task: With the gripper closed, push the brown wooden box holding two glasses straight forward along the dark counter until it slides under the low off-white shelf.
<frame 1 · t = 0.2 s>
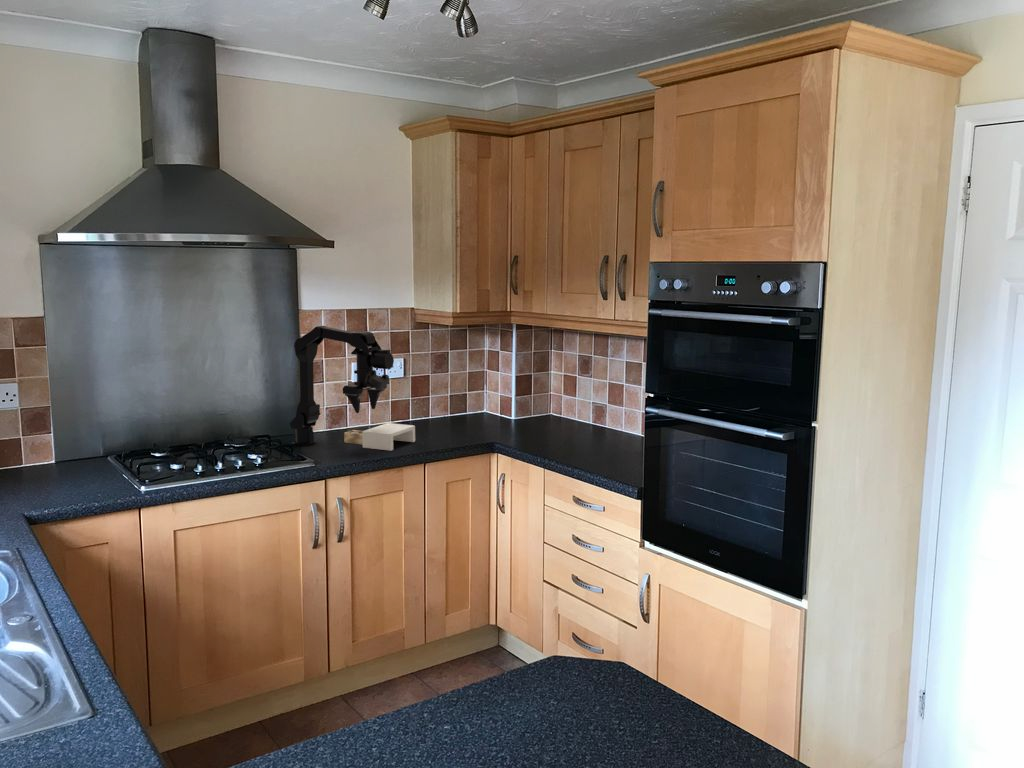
hand: (365, 410, 297), 14 cm above the counter, tool pointing down, fingers open, 9 cm apart
brown wooden box: (359, 442, 311), on the counter
shelf: (389, 444, 308), on the counter
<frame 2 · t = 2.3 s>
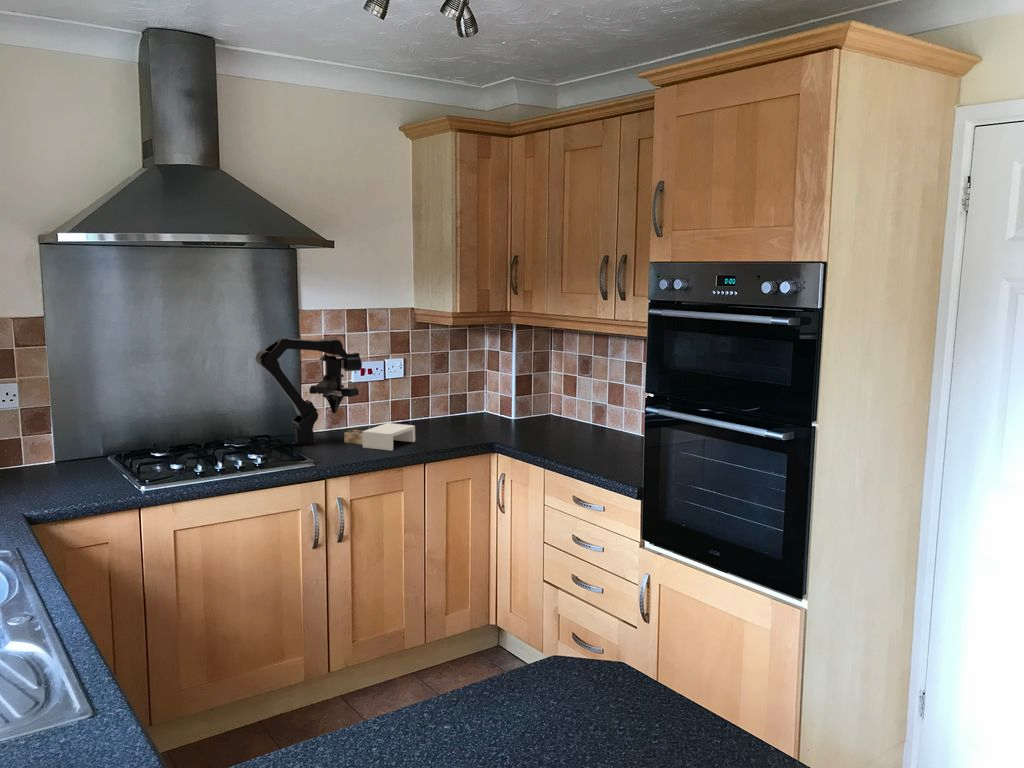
hand: (334, 413, 314), 10 cm above the counter, tool pointing down, fingers closed
nothing on the counter moved.
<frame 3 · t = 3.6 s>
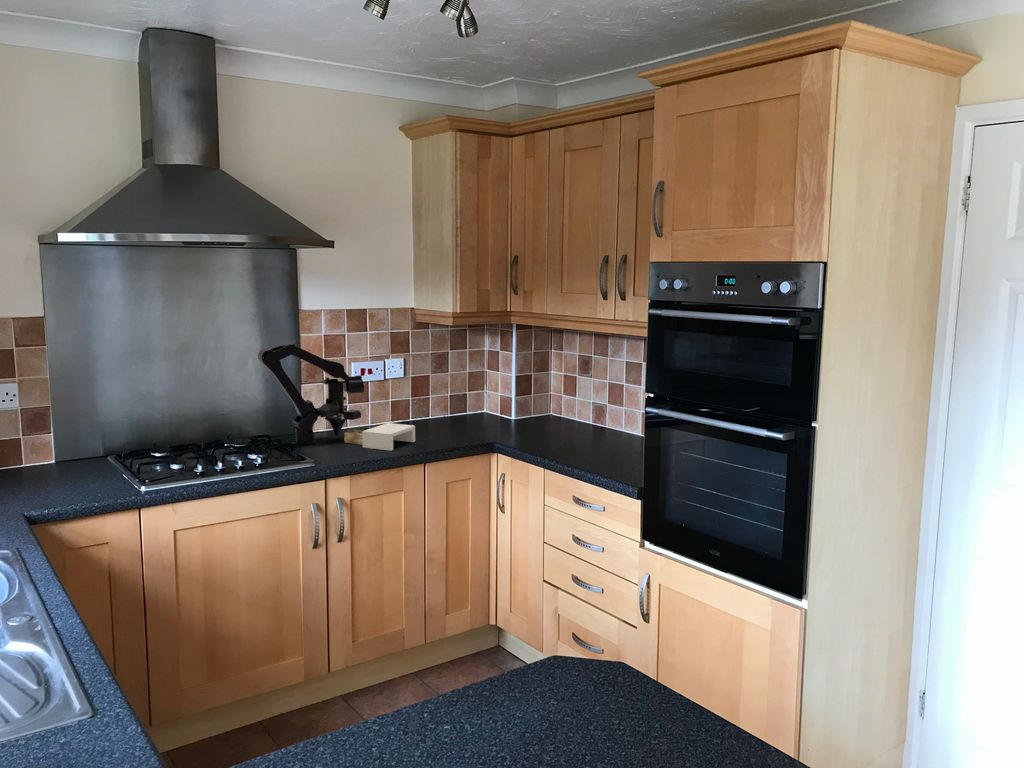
hand: (337, 435, 315), 2 cm above the counter, tool pointing down, fingers closed
nothing on the counter moved.
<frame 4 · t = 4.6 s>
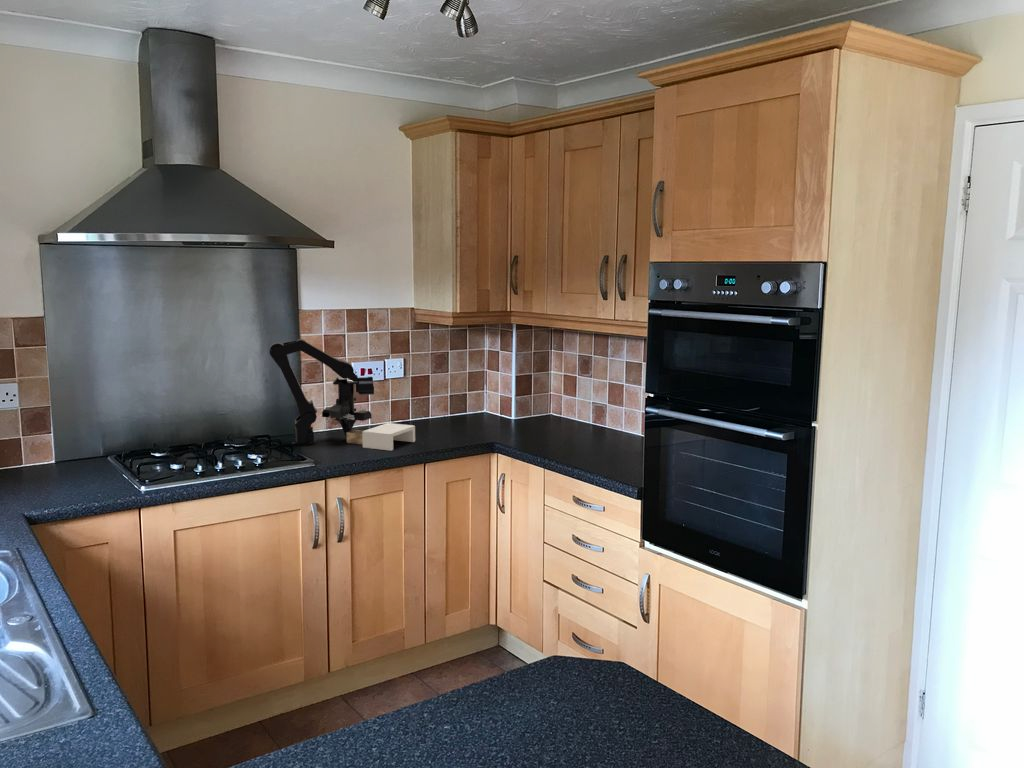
hand: (347, 436, 313), 2 cm above the counter, tool pointing down, fingers closed
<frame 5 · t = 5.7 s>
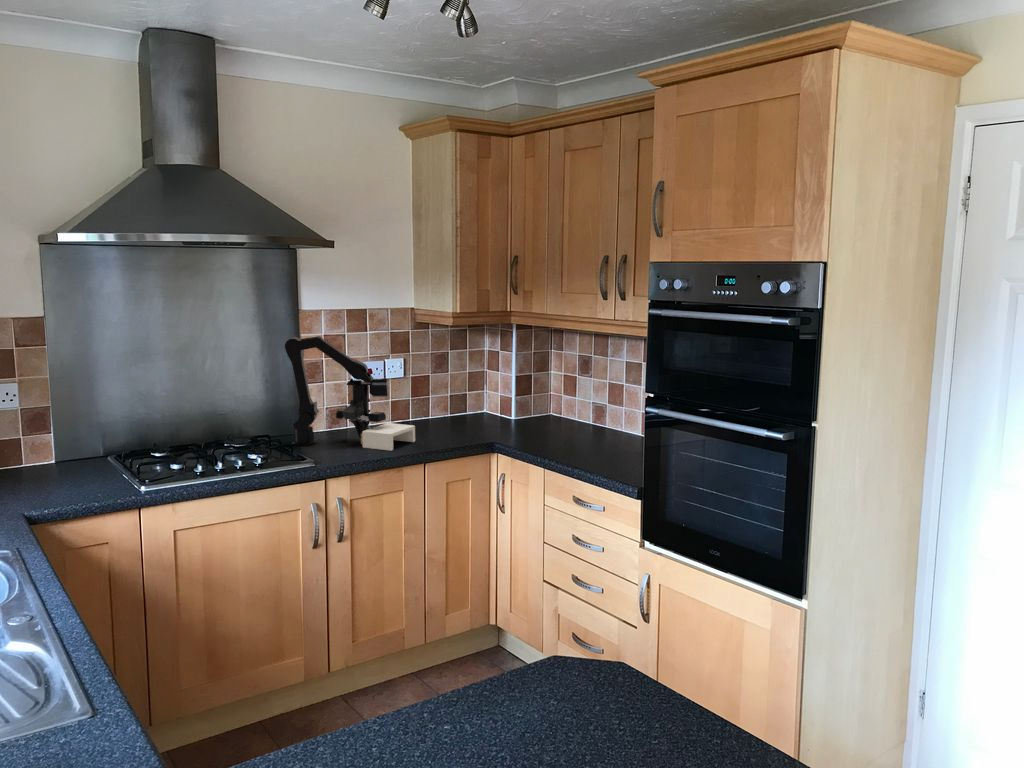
hand: (361, 438, 311), 2 cm above the counter, tool pointing down, fingers closed
brown wooden box: (376, 444, 309), on the counter, touching gripper
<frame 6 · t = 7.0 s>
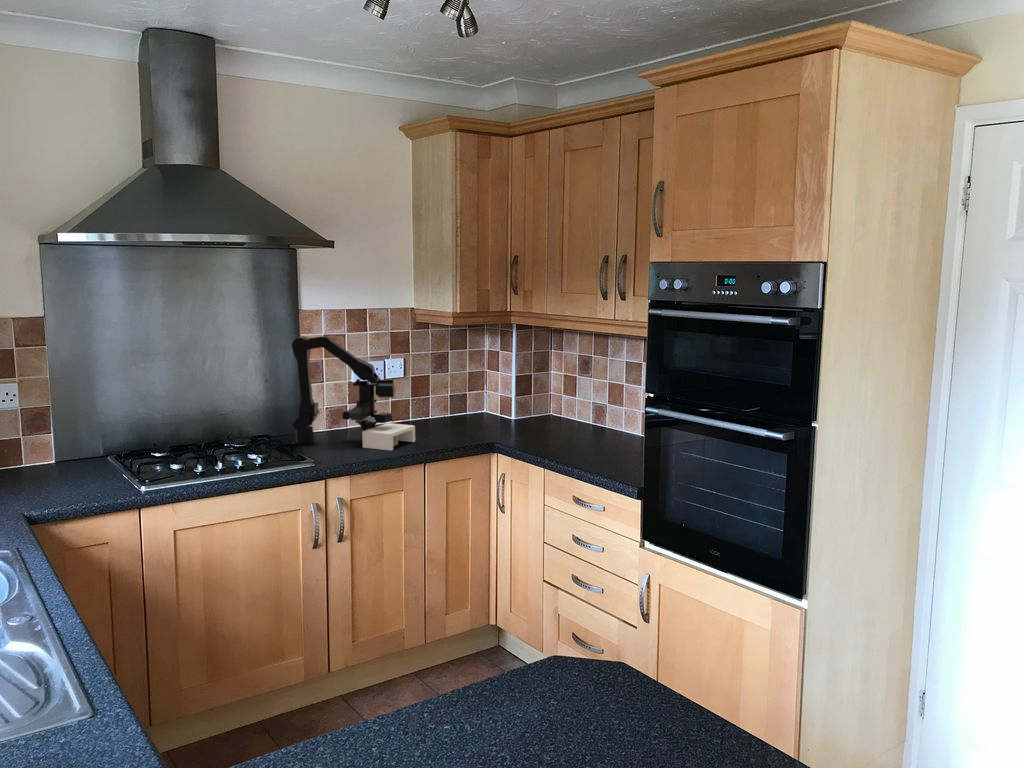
hand: (367, 438, 310), 2 cm above the counter, tool pointing down, fingers closed
brown wooden box: (382, 445, 308), on the counter
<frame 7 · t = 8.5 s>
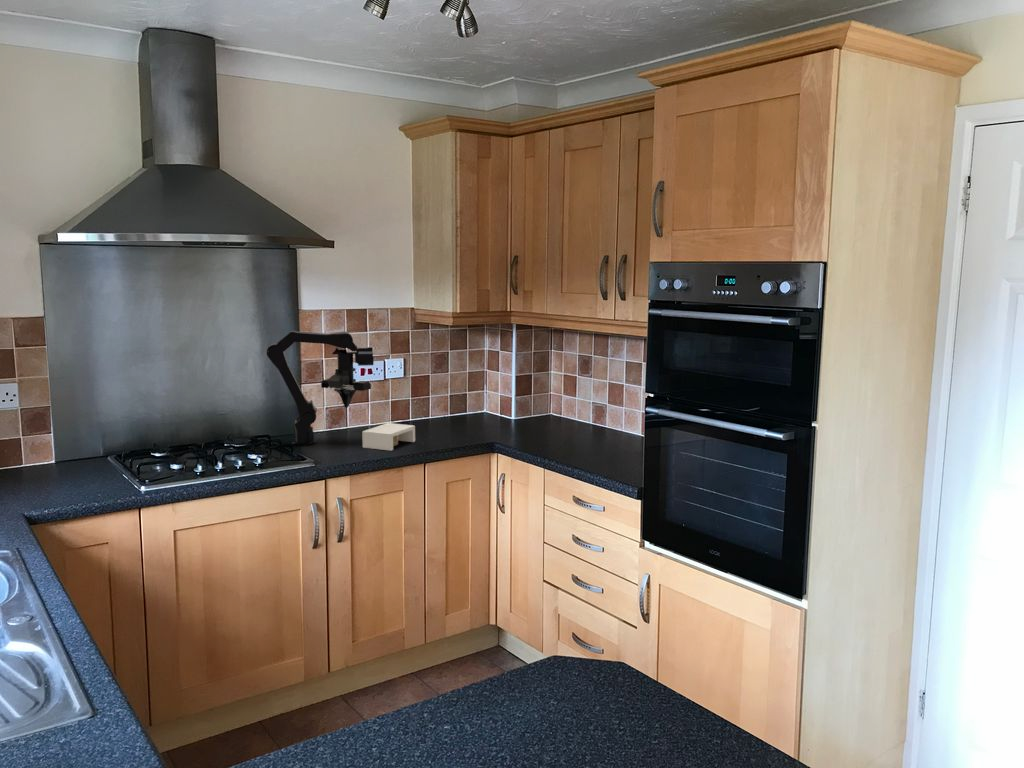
hand: (346, 407, 311), 13 cm above the counter, tool pointing down, fingers closed
nothing on the counter moved.
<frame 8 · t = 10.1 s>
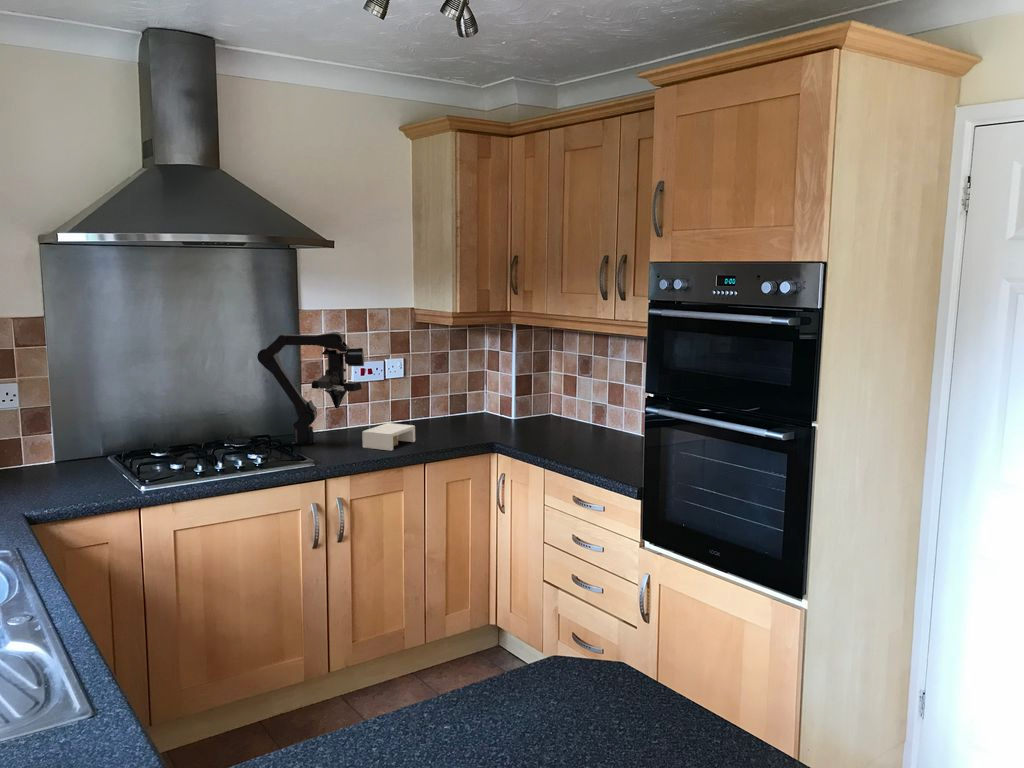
hand: (337, 408, 308), 13 cm above the counter, tool pointing down, fingers closed
nothing on the counter moved.
at the end: brown wooden box inside the target area (1.6 cm from its centre), on the counter; brown wooden box tilted 0° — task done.
